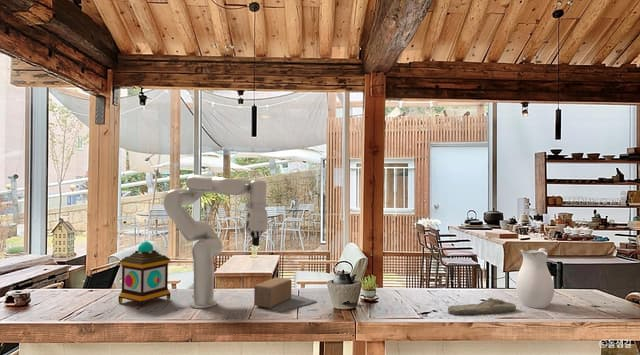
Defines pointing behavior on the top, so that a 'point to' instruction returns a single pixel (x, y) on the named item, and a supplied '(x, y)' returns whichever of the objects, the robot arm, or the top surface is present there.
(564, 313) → the top surface
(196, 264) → the robot arm
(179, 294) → the top surface
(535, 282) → the pitcher
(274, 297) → the wooden block
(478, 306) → the long grey stone
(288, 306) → the mat
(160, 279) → the decorative lantern
